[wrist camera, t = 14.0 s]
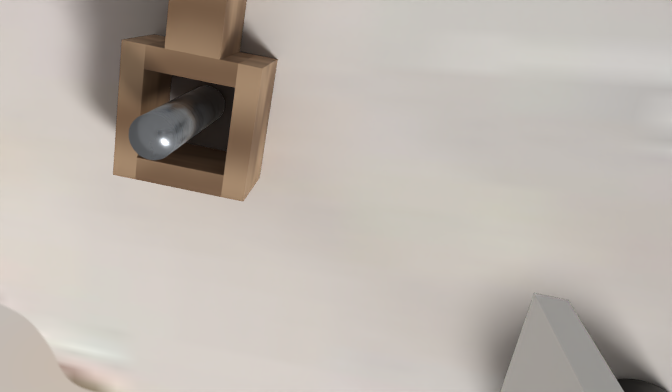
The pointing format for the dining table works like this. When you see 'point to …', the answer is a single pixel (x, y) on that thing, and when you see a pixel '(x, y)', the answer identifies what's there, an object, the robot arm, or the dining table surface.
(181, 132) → the pintle
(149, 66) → the link
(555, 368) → the robot arm
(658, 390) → the mug
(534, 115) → the dining table surface
